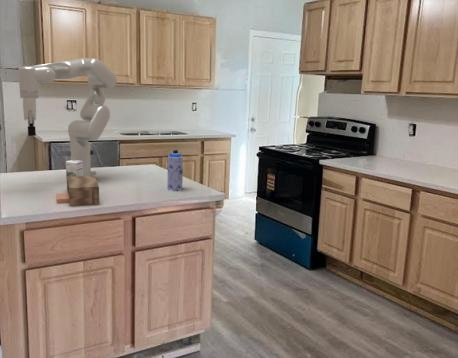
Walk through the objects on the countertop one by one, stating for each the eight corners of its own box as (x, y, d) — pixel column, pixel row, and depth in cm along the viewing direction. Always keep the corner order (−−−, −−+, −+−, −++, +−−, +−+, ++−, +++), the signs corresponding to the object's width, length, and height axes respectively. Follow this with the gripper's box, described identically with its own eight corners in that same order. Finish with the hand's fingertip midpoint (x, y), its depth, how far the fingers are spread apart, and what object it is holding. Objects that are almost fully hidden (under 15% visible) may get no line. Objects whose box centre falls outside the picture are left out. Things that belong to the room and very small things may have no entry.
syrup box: (84, 189, 216) (83, 160, 213) (76, 192, 210) (75, 162, 207) (74, 188, 218) (73, 159, 214) (66, 191, 212) (65, 161, 209)
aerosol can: (179, 191, 220) (180, 151, 216) (164, 190, 222) (165, 150, 217) (184, 188, 228) (185, 149, 223) (170, 186, 229) (170, 148, 225)
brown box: (70, 206, 188) (69, 188, 186) (67, 193, 208) (67, 176, 206) (99, 204, 193) (98, 186, 191) (94, 192, 212) (93, 175, 211)
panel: (57, 204, 191) (56, 199, 191) (56, 198, 200) (56, 193, 200) (90, 202, 196) (90, 197, 196) (88, 197, 205) (88, 192, 205)
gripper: (20, 93, 204) (23, 133, 208) (19, 95, 191) (22, 138, 195) (38, 94, 207) (40, 133, 211) (38, 96, 194) (41, 137, 198)
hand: (32, 135), depth 203 cm, fingers closed
